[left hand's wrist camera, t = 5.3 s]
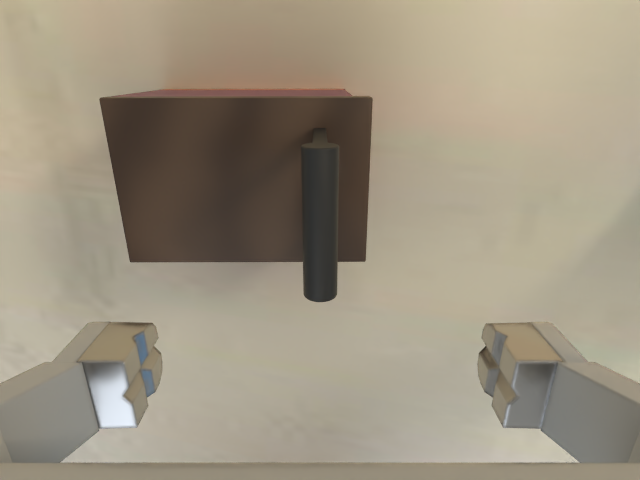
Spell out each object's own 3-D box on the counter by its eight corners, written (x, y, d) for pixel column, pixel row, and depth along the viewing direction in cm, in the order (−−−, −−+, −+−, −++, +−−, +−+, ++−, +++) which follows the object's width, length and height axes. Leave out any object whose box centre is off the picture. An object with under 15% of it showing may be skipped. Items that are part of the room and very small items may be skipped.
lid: (370, 95, 24) (396, 109, 16) (363, 253, 28) (382, 329, 20) (109, 96, 24) (2, 110, 16) (137, 254, 28) (63, 330, 20)
